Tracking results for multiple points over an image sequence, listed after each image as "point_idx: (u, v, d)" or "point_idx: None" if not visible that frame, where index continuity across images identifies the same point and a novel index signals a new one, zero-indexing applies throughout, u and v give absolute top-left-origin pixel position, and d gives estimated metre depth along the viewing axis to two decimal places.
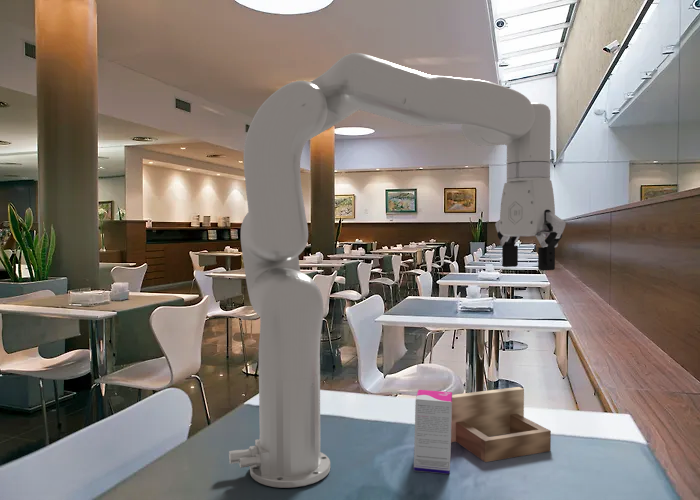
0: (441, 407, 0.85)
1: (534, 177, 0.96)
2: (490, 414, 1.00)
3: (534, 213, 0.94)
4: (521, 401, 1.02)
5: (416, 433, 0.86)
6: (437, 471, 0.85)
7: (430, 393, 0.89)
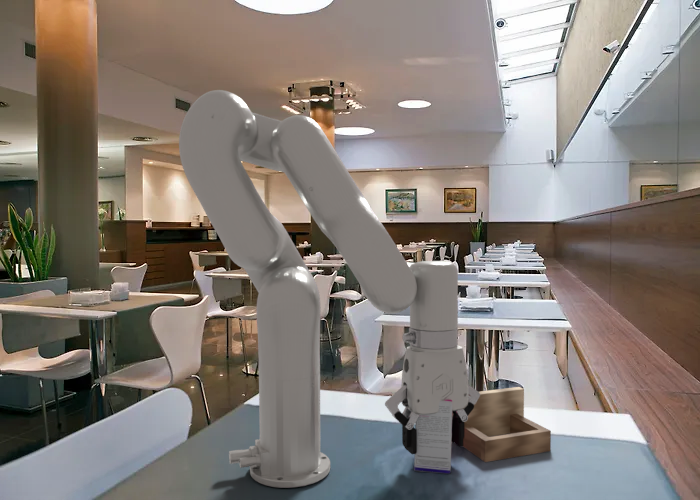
0: (441, 407, 0.85)
1: None
2: (490, 414, 1.00)
3: (467, 385, 0.87)
4: (521, 401, 1.02)
5: (417, 433, 0.86)
6: (438, 471, 0.85)
7: None
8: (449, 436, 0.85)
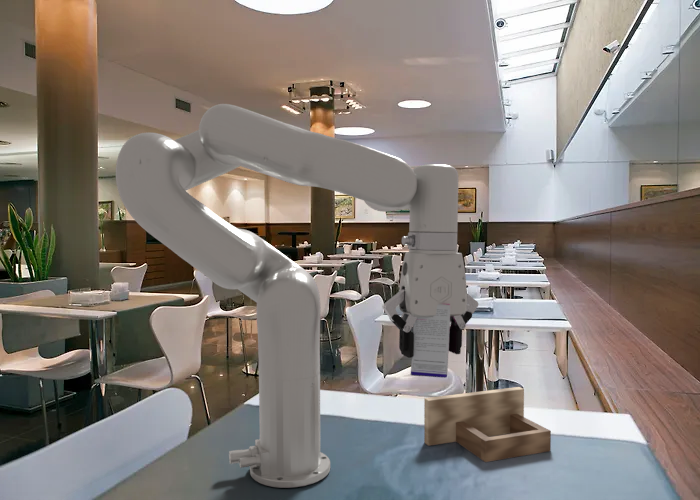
0: (439, 310, 0.84)
1: None
2: (490, 414, 1.00)
3: (466, 291, 0.86)
4: (521, 401, 1.02)
5: (414, 337, 0.85)
6: (434, 375, 0.85)
7: None
8: (446, 339, 0.84)
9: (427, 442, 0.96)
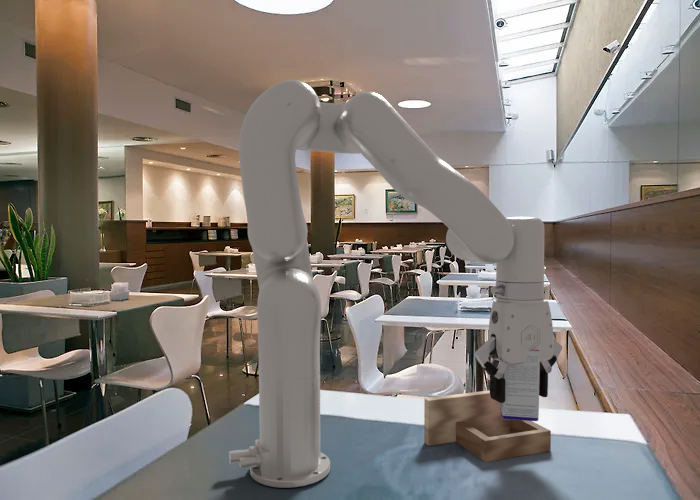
0: (530, 356, 0.88)
1: None
2: (490, 414, 1.00)
3: None
4: None
5: (505, 382, 0.89)
6: (526, 419, 0.88)
7: None
8: (537, 385, 0.88)
9: (427, 442, 0.96)
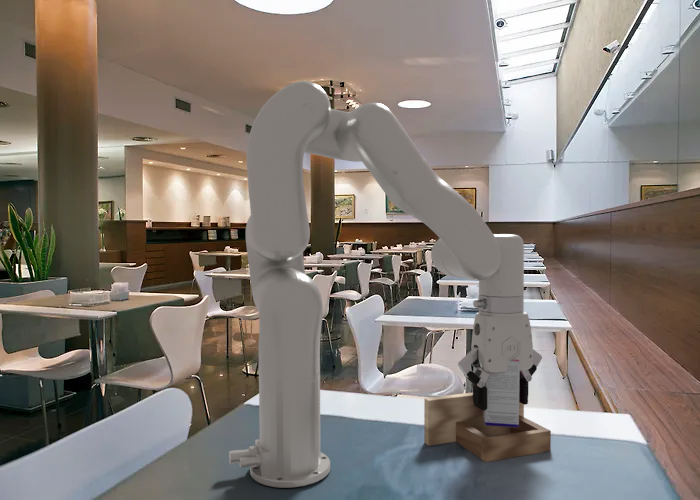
0: (510, 366, 0.93)
1: None
2: None
3: (532, 347, 0.95)
4: None
5: (487, 391, 0.94)
6: (507, 425, 0.93)
7: None
8: (517, 393, 0.93)
9: (427, 442, 0.96)
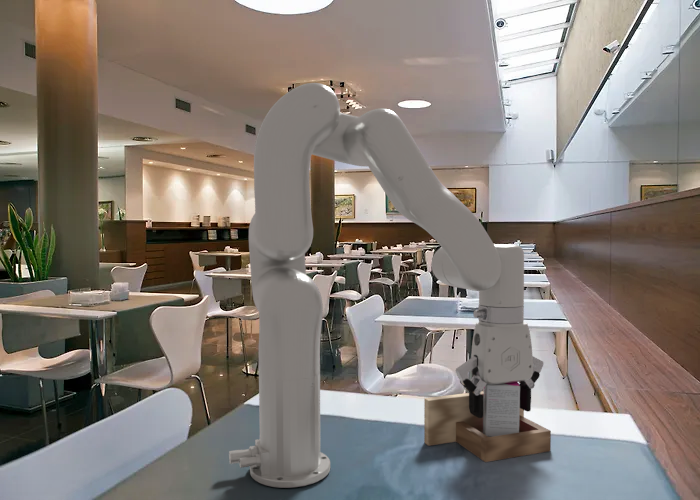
0: (510, 391, 0.93)
1: None
2: None
3: (532, 357, 0.95)
4: None
5: (487, 415, 0.94)
6: None
7: None
8: (517, 418, 0.93)
9: (427, 442, 0.96)
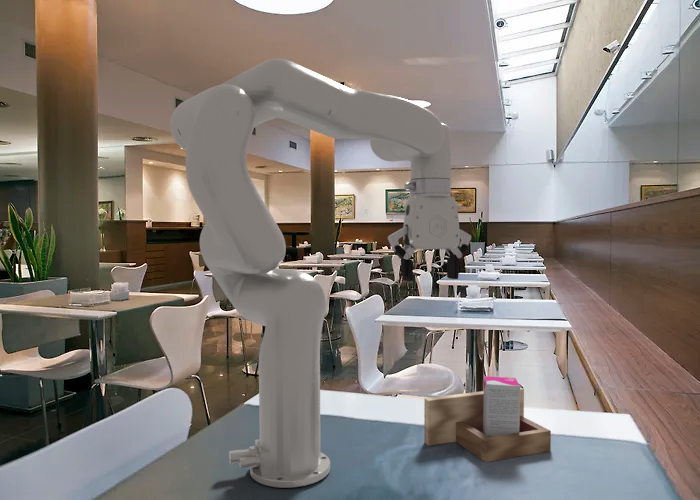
0: (511, 391, 0.93)
1: (450, 194, 1.04)
2: None
3: (458, 228, 1.04)
4: (521, 401, 1.02)
5: (488, 415, 0.94)
6: None
7: (497, 379, 0.97)
8: (518, 417, 0.93)
9: (427, 442, 0.96)
